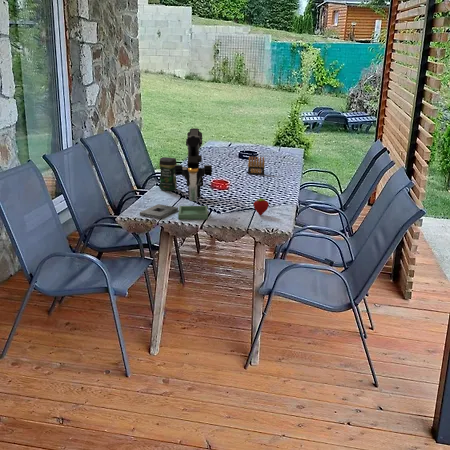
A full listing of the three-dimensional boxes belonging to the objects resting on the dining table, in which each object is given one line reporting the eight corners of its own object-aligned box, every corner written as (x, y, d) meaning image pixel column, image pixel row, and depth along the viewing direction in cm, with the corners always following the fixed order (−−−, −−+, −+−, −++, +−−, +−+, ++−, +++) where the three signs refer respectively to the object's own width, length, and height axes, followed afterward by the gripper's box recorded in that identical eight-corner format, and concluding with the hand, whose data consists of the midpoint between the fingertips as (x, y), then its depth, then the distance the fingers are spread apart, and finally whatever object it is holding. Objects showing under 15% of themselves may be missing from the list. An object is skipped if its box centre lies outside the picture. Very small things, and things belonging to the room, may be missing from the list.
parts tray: (179, 210, 266) (179, 205, 265) (207, 210, 267) (207, 206, 266) (178, 219, 253) (178, 214, 252) (207, 219, 254) (207, 214, 253)
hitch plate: (158, 206, 272) (158, 204, 271) (178, 210, 267) (178, 207, 266) (139, 215, 259) (139, 212, 258) (160, 219, 253) (159, 216, 253)
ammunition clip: (247, 174, 342) (248, 156, 339) (247, 173, 344) (248, 155, 340) (264, 175, 341) (264, 156, 337) (264, 174, 343) (265, 156, 339)
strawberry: (268, 217, 258) (269, 197, 255) (253, 217, 258) (254, 197, 255) (267, 213, 264) (268, 194, 261) (252, 213, 264) (253, 193, 260)
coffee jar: (158, 190, 302) (157, 158, 296) (163, 187, 310) (162, 155, 304) (173, 191, 300) (173, 159, 294) (178, 188, 307) (178, 156, 301)
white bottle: (199, 198, 269) (199, 167, 263) (196, 201, 264) (196, 170, 258) (189, 198, 270) (189, 167, 264) (186, 201, 265) (186, 169, 260)
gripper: (174, 149, 262) (173, 176, 255) (211, 149, 262) (212, 176, 256) (175, 161, 272) (174, 187, 265) (211, 161, 273) (211, 187, 266)
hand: (193, 184), depth 263 cm, fingers closed on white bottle, 4 cm apart
